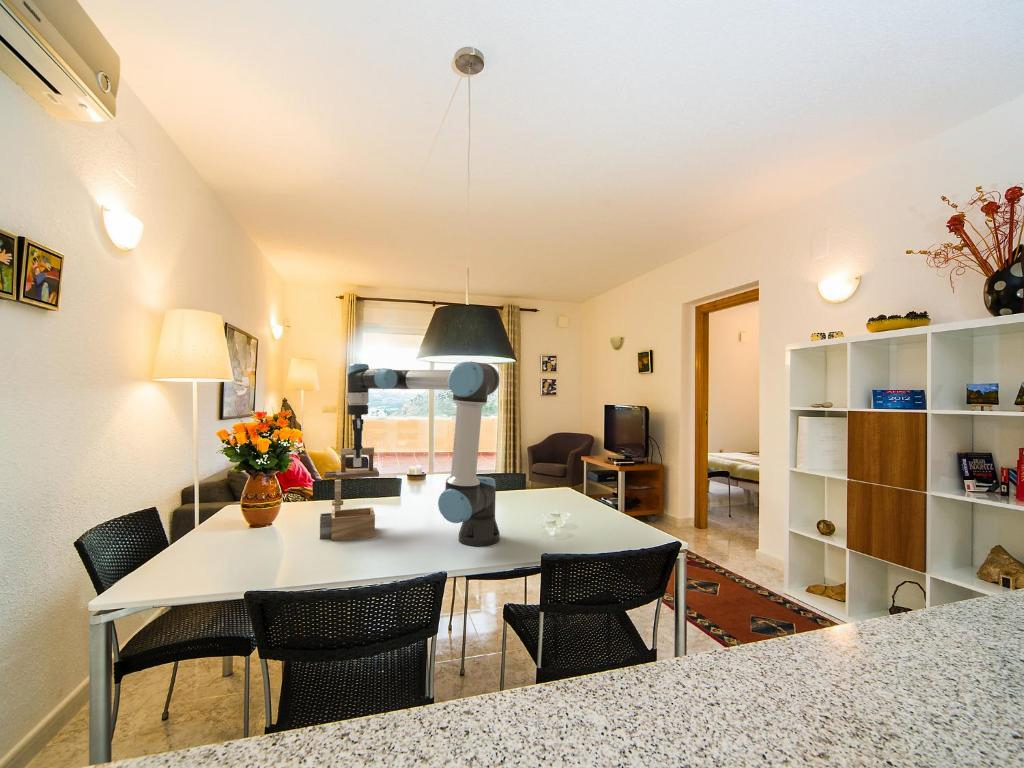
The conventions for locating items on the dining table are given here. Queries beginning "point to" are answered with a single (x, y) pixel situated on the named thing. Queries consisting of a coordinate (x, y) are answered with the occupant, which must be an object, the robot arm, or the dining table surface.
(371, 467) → the lid
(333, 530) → the toolbox
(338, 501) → the key peg
